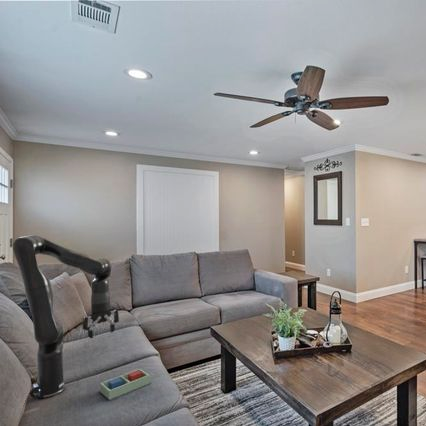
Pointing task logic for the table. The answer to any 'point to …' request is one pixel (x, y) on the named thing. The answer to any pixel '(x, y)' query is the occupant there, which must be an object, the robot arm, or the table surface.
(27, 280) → the robot arm
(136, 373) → the red block
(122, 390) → the sorting tray
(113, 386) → the blue block
